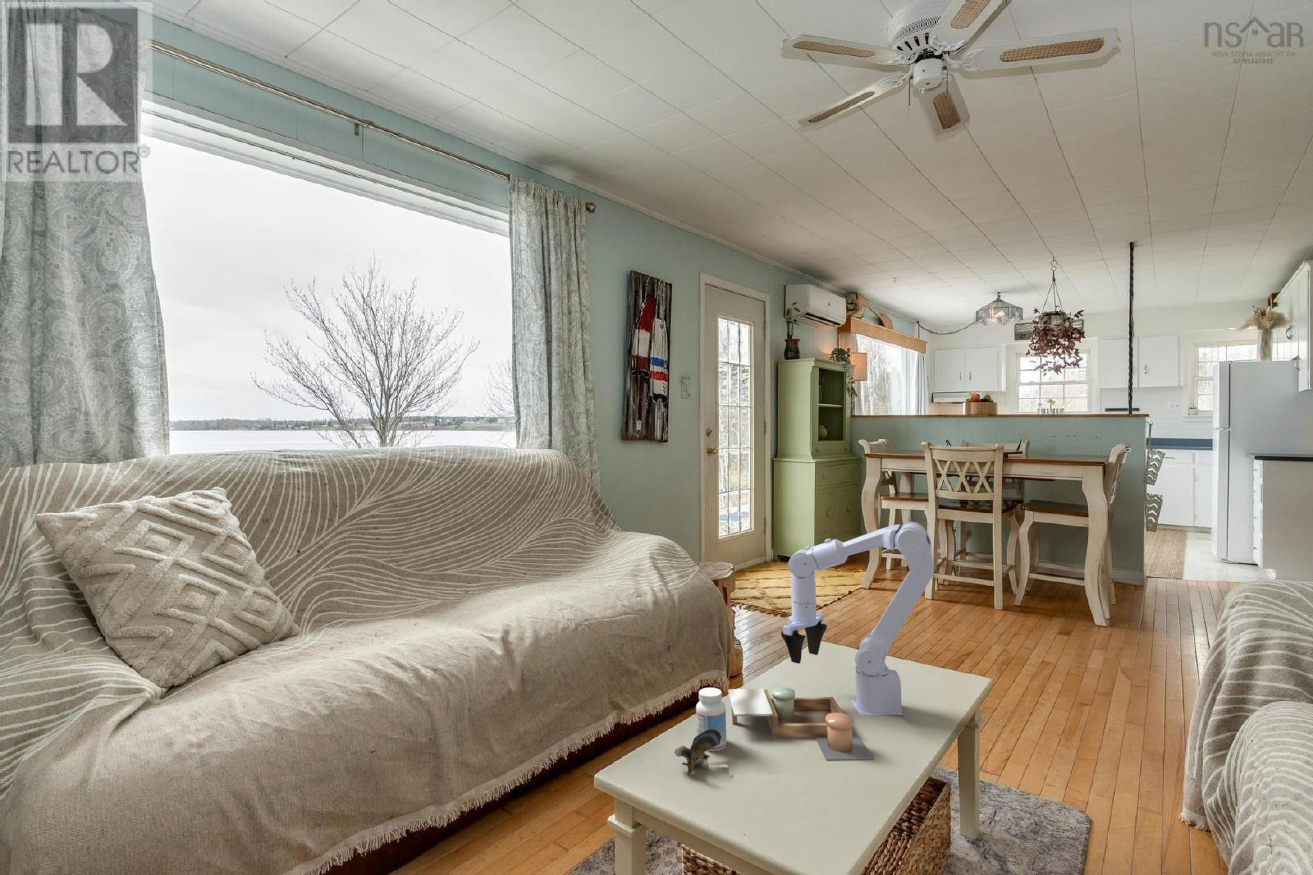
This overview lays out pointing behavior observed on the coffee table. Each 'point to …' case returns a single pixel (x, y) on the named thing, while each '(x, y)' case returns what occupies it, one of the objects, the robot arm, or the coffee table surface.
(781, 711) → the mint green knob
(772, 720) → the cold frame
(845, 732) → the peach rounded knob
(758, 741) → the coffee table surface
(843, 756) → the slate tile
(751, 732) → the coffee table surface
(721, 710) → the pill bottle
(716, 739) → the squirrel figurine
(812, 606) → the robot arm
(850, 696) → the coffee table surface
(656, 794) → the coffee table surface
